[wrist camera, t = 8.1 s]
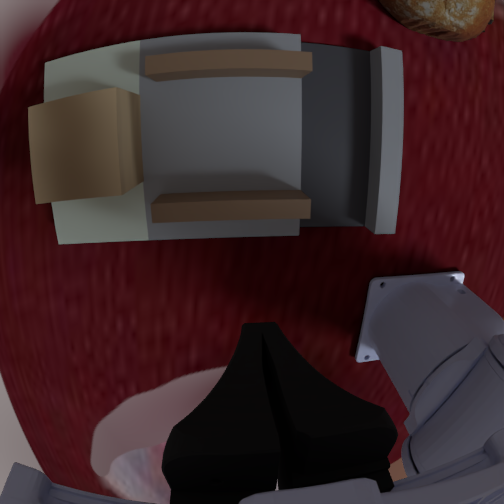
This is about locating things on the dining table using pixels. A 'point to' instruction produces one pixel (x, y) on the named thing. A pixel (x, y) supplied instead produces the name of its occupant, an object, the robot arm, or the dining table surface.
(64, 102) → the wooden block
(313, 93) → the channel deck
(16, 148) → the dining table surface
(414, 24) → the bread roll
